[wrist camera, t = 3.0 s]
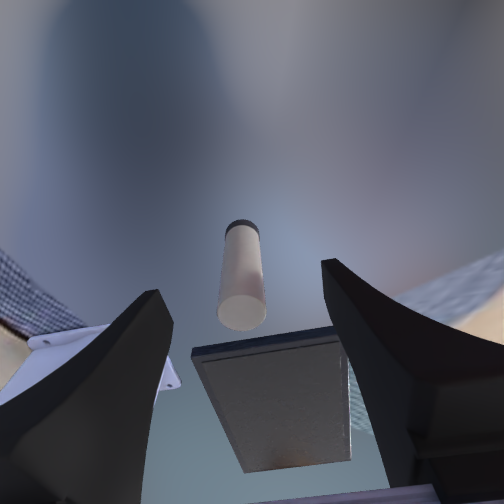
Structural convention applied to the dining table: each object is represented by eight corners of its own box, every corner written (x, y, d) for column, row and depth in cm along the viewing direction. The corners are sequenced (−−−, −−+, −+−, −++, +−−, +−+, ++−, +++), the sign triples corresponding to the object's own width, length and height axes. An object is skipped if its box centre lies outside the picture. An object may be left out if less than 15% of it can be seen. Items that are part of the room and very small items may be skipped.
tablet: (244, 463, 32) (244, 474, 31) (192, 347, 22) (189, 358, 21) (348, 450, 31) (352, 461, 30) (344, 323, 21) (348, 334, 20)
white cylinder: (229, 251, 18) (223, 335, 12) (222, 222, 17) (209, 298, 11) (261, 245, 18) (271, 327, 12) (255, 216, 17) (262, 289, 11)
